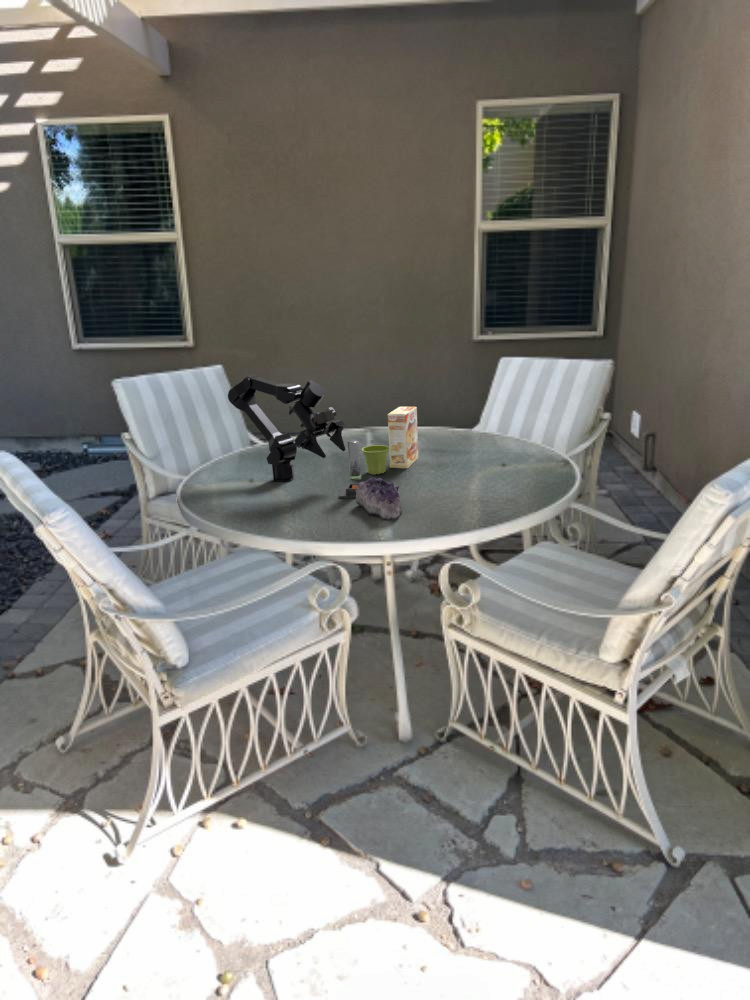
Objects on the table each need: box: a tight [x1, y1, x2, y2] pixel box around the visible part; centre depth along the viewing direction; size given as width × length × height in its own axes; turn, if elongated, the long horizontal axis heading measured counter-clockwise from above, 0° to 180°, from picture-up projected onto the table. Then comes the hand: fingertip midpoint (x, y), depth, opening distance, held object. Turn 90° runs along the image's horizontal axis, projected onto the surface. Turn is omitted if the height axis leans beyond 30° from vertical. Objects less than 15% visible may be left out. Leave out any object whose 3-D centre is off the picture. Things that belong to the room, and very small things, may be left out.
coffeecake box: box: [387, 406, 419, 469], centre depth 250 cm, size 15×7×20 cm, turn 161°
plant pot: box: [361, 444, 389, 475], centre depth 241 cm, size 9×9×9 cm
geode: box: [355, 476, 403, 521], centre depth 202 cm, size 20×12×10 cm, turn 23°
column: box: [347, 440, 362, 481], centre depth 217 cm, size 4×4×12 cm
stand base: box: [337, 483, 359, 500], centre depth 220 cm, size 10×10×3 cm
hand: (334, 453), depth 222 cm, fingers open, 9 cm apart
